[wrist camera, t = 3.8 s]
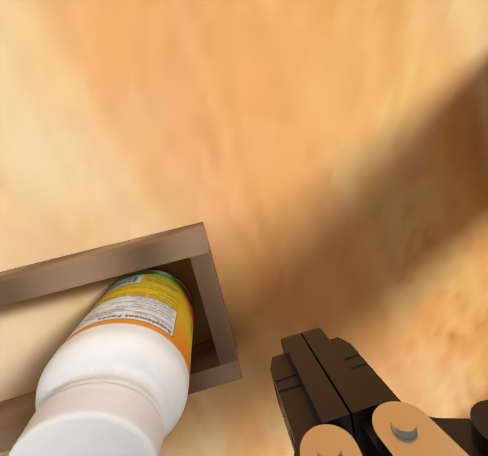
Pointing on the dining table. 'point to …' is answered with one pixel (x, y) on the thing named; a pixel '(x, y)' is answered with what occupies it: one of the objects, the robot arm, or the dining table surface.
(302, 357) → the robot arm
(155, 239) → the walnut U-rest
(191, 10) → the dining table surface
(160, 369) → the supplement bottle
